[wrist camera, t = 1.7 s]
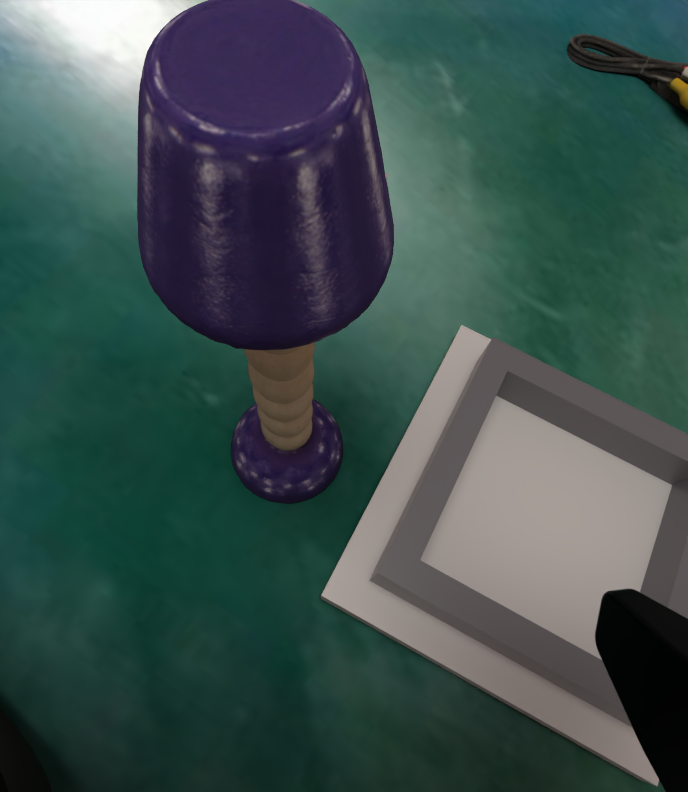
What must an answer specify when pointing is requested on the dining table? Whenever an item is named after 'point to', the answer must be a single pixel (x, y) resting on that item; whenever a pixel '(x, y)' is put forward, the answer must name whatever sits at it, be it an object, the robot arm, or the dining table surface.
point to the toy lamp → (264, 211)
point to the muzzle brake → (19, 761)
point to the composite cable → (633, 66)
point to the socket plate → (522, 537)
